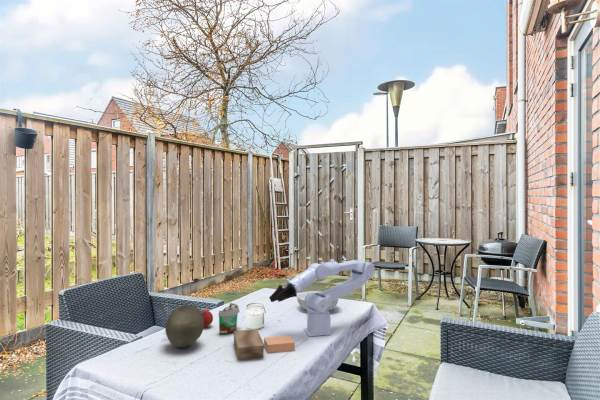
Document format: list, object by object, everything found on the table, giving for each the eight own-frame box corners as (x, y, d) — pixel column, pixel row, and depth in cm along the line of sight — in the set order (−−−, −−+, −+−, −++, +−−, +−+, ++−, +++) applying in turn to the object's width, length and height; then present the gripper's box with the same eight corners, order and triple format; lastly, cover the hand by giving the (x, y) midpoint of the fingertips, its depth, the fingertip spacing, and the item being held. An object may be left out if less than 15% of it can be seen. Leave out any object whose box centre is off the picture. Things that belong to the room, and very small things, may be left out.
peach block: (289, 343, 139) (289, 335, 139) (294, 350, 132) (294, 342, 132) (264, 345, 136) (264, 337, 136) (267, 353, 130) (267, 344, 130)
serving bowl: (340, 316, 172) (340, 302, 172) (296, 315, 172) (296, 301, 172) (336, 304, 193) (336, 291, 193) (297, 303, 193) (297, 290, 193)
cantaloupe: (155, 350, 130) (156, 308, 130) (182, 337, 143) (182, 299, 143) (187, 357, 124) (188, 314, 124) (212, 343, 138) (212, 303, 138)
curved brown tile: (256, 341, 140) (257, 329, 140) (264, 359, 125) (264, 345, 125) (233, 343, 138) (233, 330, 138) (238, 361, 122) (238, 347, 122)
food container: (232, 337, 143) (232, 312, 143) (217, 336, 145) (218, 311, 145) (243, 327, 156) (243, 303, 156) (229, 325, 157) (230, 302, 157)
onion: (205, 330, 150) (205, 311, 150) (195, 327, 153) (196, 309, 153) (215, 326, 155) (216, 308, 155) (206, 324, 158) (206, 305, 158)
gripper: (289, 274, 153) (263, 291, 146) (304, 271, 140) (275, 289, 134) (297, 289, 153) (271, 306, 146) (312, 287, 140) (284, 306, 134)
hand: (273, 299), depth 140 cm, fingers open, 7 cm apart
